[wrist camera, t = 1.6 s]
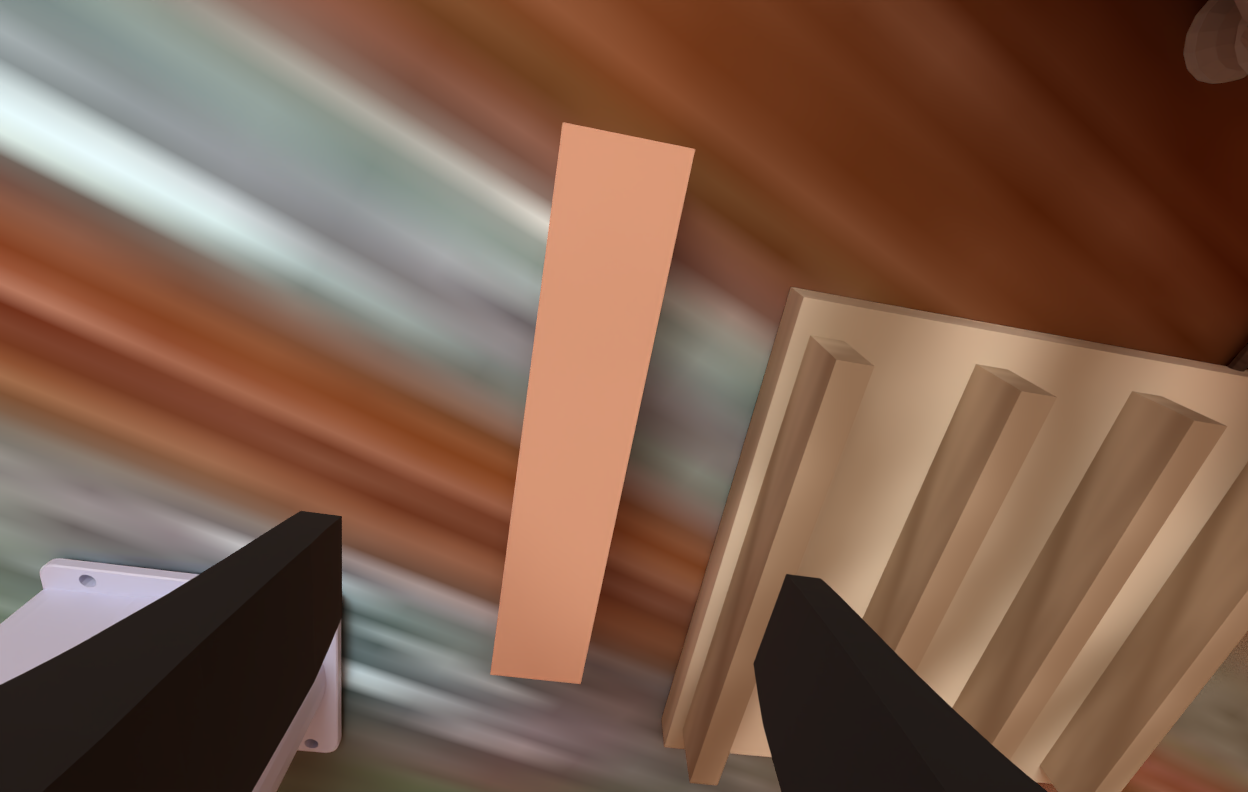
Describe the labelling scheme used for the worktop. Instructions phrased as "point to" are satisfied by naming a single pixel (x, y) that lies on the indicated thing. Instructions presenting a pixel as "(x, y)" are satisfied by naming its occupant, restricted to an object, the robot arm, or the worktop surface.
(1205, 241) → the worktop surface
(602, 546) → the clay strip
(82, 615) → the robot arm
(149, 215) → the worktop surface
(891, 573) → the drying rack
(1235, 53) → the toaster
